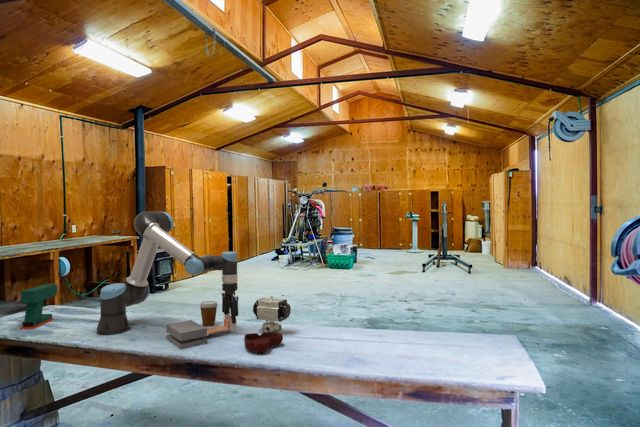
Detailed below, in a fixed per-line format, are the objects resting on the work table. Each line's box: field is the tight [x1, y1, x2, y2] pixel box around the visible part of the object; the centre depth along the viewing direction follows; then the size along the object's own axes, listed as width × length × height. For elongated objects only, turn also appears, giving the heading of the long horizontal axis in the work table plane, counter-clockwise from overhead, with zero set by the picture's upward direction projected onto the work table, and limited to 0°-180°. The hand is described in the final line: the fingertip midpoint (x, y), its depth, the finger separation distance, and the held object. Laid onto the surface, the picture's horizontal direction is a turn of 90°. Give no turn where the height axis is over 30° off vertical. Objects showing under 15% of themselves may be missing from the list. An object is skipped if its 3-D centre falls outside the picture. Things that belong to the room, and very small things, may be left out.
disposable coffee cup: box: [199, 300, 219, 327], centre depth 214 cm, size 10×10×12 cm
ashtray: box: [243, 331, 284, 355], centre depth 177 cm, size 18×16×5 cm
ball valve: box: [252, 295, 292, 333], centre depth 200 cm, size 18×8×18 cm, turn 67°
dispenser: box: [165, 319, 210, 350], centre depth 187 cm, size 13×19×7 cm
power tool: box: [20, 283, 60, 330], centre depth 225 cm, size 32×7×20 cm, turn 6°
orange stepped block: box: [206, 318, 237, 335], centre depth 197 cm, size 18×7×4 cm, turn 130°
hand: (230, 328), depth 201 cm, fingers open, 5 cm apart
